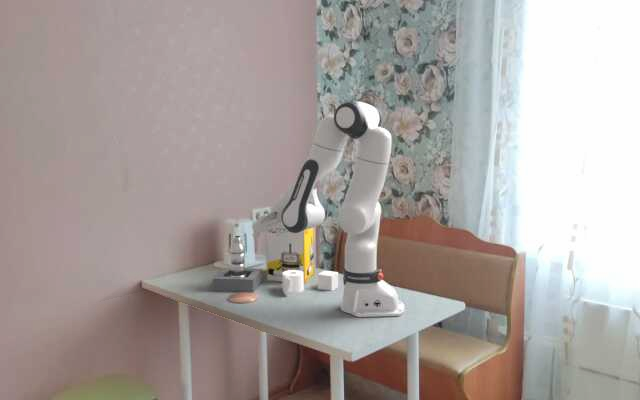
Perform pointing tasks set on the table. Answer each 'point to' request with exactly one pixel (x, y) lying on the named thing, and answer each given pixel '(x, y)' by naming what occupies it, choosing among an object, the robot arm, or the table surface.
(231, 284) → the charcoal collar
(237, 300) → the terracotta coaster
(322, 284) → the white cube
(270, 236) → the packaging box
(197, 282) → the table surface
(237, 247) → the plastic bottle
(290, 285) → the toilet paper
